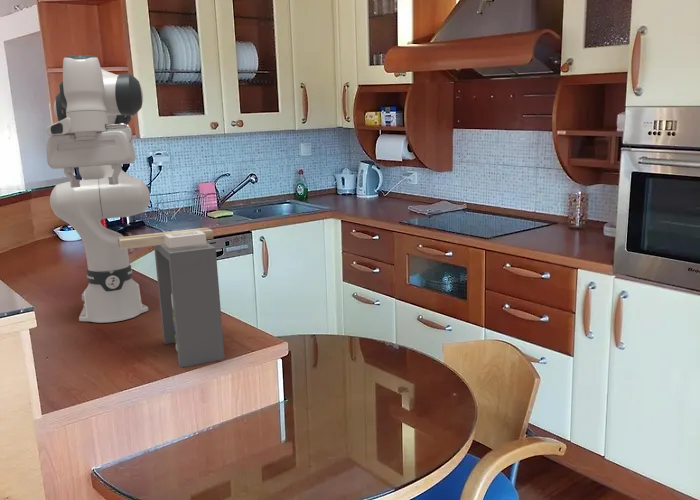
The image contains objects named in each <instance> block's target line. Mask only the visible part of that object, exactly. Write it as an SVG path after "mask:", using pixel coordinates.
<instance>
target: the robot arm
mask: <svg viewBox="0 0 700 500" xmlns="http://www.w3.org/2000/svg"><path fill="white" fill-rule="evenodd" d="M58 87H59V93H58V94H56V96H55V100H54V103H53V113H54V115H55V118H56V119H57V122H54V123H52V124H50V125H48V126H47V127H46V133H47V135H48V136H50V137H49V138H48V139H47V140H46V163H47V165H48V166H49V168H50V169H52V170H53V169H54V170H58V169H59V170H62V169H63V173H64V175H65V176H66V177H67V179H68V181H65V182H63V183H62V182H61V183H58V184H56V185H55V186H54V188H53V189H52V191H51V193H50V197H49V205H50V208H51V210H52V212H53V214H54V215H55V216H56V217H57V218H59V219H60V220H62V221H63V222H65V223H67V224H68V225H69V226H71V227H72V228H73V229H74V230H75V232H76V233H77V234H78V235H79V238H80V239H81V241H82V245H83V248H84V252H85V259H86V263H87V269H86V281H87V283H88V285H87V287H86V288H85V289H84V291H83V292H82V294H81V301H82V302H84V303H83V308H82V310H81V311H80V314H79V317H78V322H92V323H99V324H101V323H114V322H120V321H125V320H130V319H132V318H135V317H137V316H139V315H141V314H142V313H146V312H148V311H149V307H148V306H147V305H145V304H143V303H142V297H141V291H140V284H139V283H137V281H135V280H134V278H133V269H132V265H131V264H130V258H129V249H121V248H120V247H119V246H118V237H125V236H124V235H123V234H122V233H119V232H118V231H114V230H112V229H110V228H107V227H106V226H104V225H103V224H102V222H101V221H102V220H104V219H115V218H117V219H118V218H127V217H128V218H129V217H132V216H136V215H139V214H143V213H145V211H146V210H147V209H148V207H149V205H150V202H151V193H150V190H149V187H148V186H147V184H146V183H145V182H144V181H143V180H142V179H140V178H138V177H134V176H133V175H130V174H129V173H127V172H125V171H124V170H123V168H122V165H125V164H133V163H134V162H135V161H136V159H137V158H136V151H135V147H134V142H133V136H134V135H133V130H132V128H131V126H129V124H130V123H131V121H132V117H133V116H135V115H136V114H137V113H138V112H139V111H140V110H141V109H142V107H143V102H144V92H143V88H142V85H141V83H140V81H139V80H138V79H137V77H135V76H134V75H132V74H131V73H121V74H115V73H113V72H110V71H107V70H105V69H103V68H102V66H101V64H100V61H99V58H98V57H97V56H95V55H92V54H89V55H85V54H84V55H83V54H79V55H77V54H75V55H73V54H72V55H71V54H70V55H67V56H65V57H64V58H63V60H62V81H61V82H60V83H59V84H58ZM75 168H78V173H79V175H80V177H81V178H82V179H77V177H75V175H74V173H75Z"/></svg>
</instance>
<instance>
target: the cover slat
mask: <svg viewBox="0 0 700 500" xmlns="http://www.w3.org/2000/svg"><path fill="white" fill-rule="evenodd" d="M196 230H200V231H201V232H203V233H205V234H206V241H207V240H213V239H214V230H213V229H211V228H209V227H201V228H200V227H199V228H192V229H182V230H172V231H165V232H154V233H147V234H145V233H144V234H137V235H128V236H124V237H118V246H119V247H120V248H121V249H128V250H130V249H137V248H146V247H147V248H148V247H154V246H155V245H164V244H165V241H164V234H169V233H178V232H187V231H196Z"/></svg>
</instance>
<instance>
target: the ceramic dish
mask: <svg viewBox="0 0 700 500" xmlns="http://www.w3.org/2000/svg"><path fill="white" fill-rule="evenodd" d="M164 241H165V248H167V249H168V250H169V251H170V252H171V251H179V250H188V249H196V248H204V247H207V244H206V242H207V240H206V234H205V233H203V232H201V231H200V230H196V231H187V232H178V233H169V234H164Z"/></svg>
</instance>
